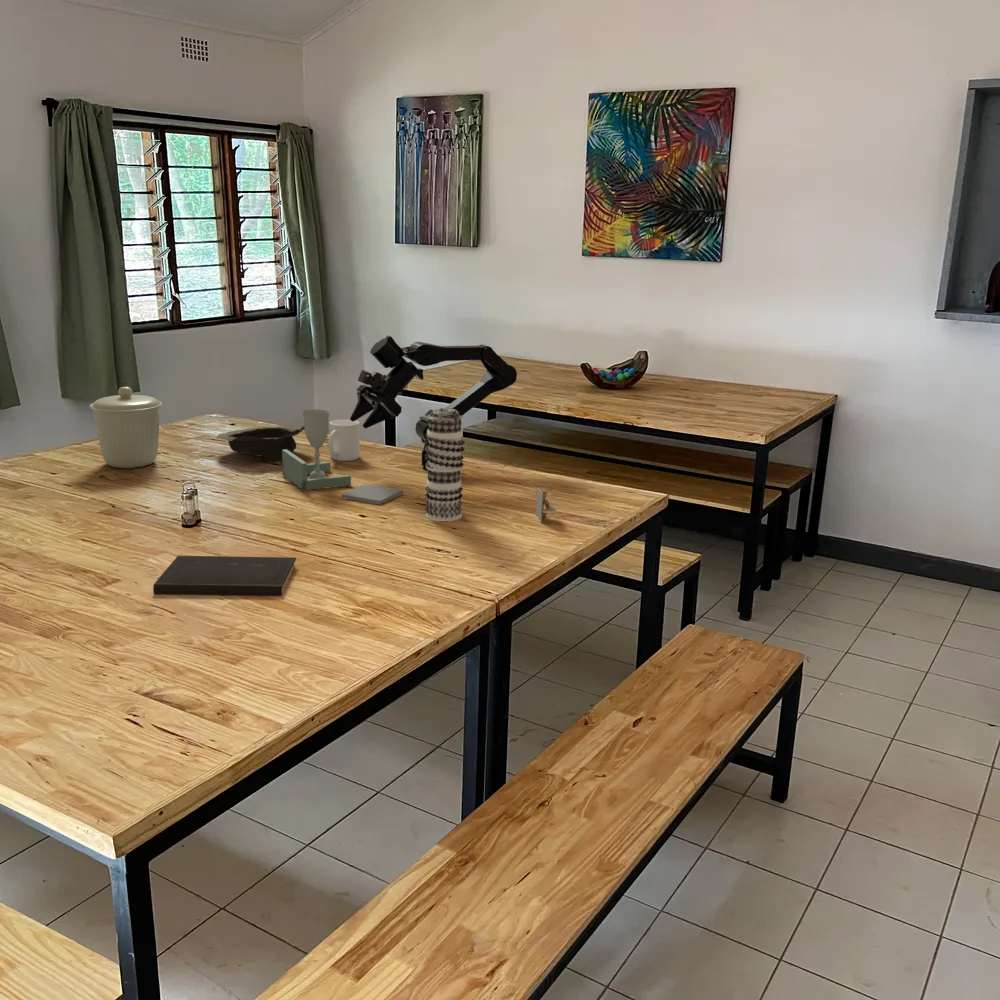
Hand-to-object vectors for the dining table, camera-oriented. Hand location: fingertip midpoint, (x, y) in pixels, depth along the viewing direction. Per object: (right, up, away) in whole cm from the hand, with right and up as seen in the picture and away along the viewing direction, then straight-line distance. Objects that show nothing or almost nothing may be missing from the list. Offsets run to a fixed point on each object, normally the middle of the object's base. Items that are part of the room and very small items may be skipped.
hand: (357, 423), depth 256 cm
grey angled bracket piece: (+47, -25, -29) cm, 61 cm away
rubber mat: (+6, -19, -15) cm, 25 cm away
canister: (-63, -11, +8) cm, 64 cm away
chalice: (-10, -15, -2) cm, 18 cm away
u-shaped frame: (-10, -15, -2) cm, 18 cm away
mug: (-7, -9, +20) cm, 23 cm away
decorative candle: (+24, -24, -29) cm, 45 cm away
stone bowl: (-30, -8, +22) cm, 38 cm away
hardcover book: (-14, -36, -71) cm, 81 cm away
